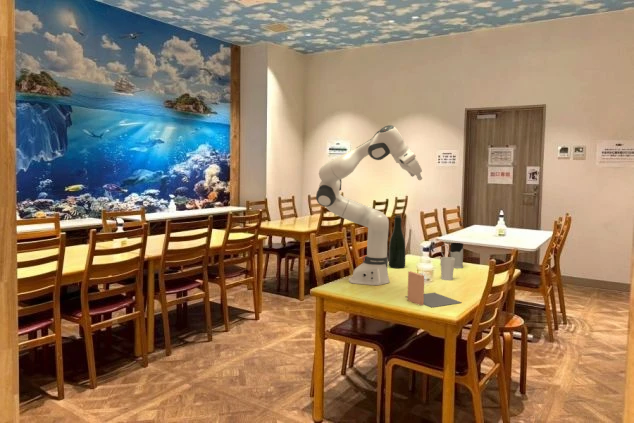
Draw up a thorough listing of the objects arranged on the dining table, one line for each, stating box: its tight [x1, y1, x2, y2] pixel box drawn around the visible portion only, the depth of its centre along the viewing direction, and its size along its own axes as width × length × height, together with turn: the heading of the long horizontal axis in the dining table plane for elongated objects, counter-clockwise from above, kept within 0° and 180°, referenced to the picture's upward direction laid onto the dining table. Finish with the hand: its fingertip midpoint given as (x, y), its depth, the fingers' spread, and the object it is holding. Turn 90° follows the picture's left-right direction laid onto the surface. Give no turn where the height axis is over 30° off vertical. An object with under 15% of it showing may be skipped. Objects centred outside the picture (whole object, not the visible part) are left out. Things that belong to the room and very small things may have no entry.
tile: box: [407, 270, 425, 306], centre depth 237 cm, size 2×10×14 cm, turn 26°
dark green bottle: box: [388, 214, 406, 269], centre depth 317 cm, size 10×10×33 cm
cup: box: [440, 256, 455, 281], centre depth 286 cm, size 8×8×12 cm
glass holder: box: [440, 242, 464, 269], centre depth 320 cm, size 9×14×15 cm, turn 69°
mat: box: [404, 292, 462, 308], centre depth 242 cm, size 18×20×1 cm
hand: (416, 177), depth 246 cm, fingers open, 8 cm apart
